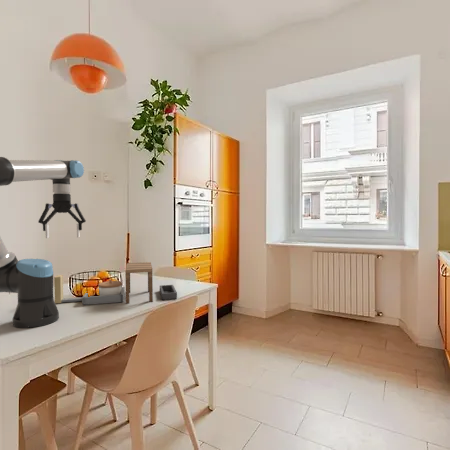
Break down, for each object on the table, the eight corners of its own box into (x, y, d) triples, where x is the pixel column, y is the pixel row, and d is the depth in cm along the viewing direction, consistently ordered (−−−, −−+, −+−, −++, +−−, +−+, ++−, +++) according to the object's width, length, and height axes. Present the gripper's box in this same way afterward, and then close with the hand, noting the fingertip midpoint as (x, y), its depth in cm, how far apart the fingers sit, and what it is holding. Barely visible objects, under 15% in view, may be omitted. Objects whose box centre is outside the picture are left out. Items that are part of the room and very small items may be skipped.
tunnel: (152, 301, 146) (152, 268, 145) (125, 303, 142) (125, 269, 142) (150, 291, 166) (150, 262, 165) (127, 292, 163) (127, 263, 162)
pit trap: (176, 298, 150) (176, 292, 150) (162, 299, 148) (162, 293, 148) (172, 290, 168) (172, 284, 167) (159, 291, 166) (159, 285, 166)
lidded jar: (94, 299, 150) (94, 279, 150) (115, 295, 158) (115, 276, 157) (105, 303, 143) (104, 283, 142) (126, 299, 150) (126, 279, 150)
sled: (123, 301, 144) (122, 276, 144) (51, 307, 136) (50, 279, 136) (124, 293, 160) (124, 270, 160) (60, 297, 152) (59, 273, 152)
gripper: (91, 194, 156) (92, 236, 157) (35, 193, 150) (36, 237, 150) (88, 193, 149) (89, 237, 150) (29, 192, 142) (31, 239, 143)
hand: (63, 237), depth 150 cm, fingers open, 13 cm apart
